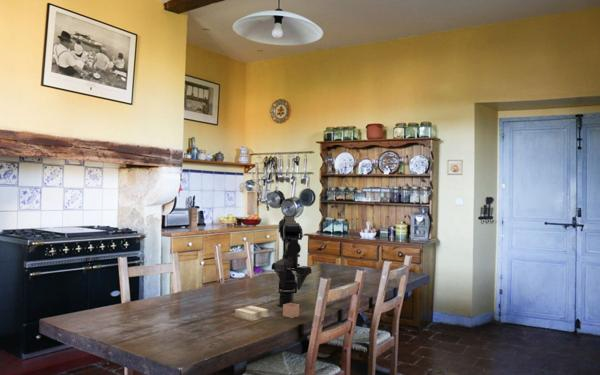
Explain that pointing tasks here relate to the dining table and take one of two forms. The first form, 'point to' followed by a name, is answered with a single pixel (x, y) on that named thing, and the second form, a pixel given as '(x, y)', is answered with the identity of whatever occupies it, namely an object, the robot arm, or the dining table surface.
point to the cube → (291, 310)
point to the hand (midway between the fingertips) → (290, 288)
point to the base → (251, 313)
